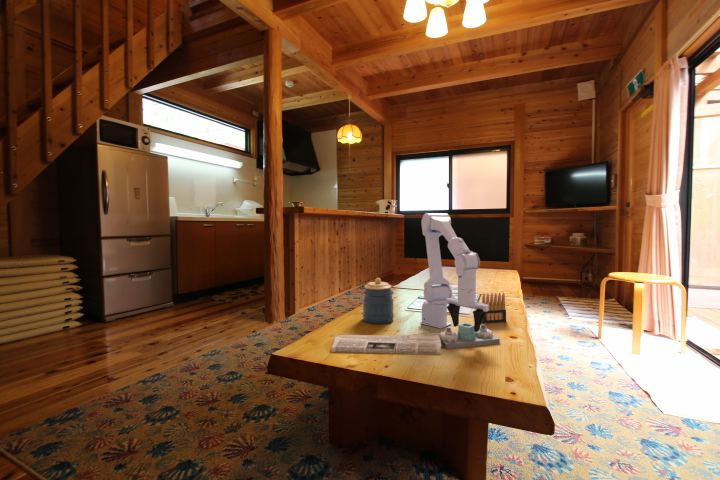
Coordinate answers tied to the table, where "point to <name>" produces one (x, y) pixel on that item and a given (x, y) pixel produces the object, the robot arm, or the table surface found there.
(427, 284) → the robot arm
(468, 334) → the teal gear
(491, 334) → the gear board
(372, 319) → the canister
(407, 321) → the table surface
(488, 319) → the ammunition clip
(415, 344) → the newspaper
